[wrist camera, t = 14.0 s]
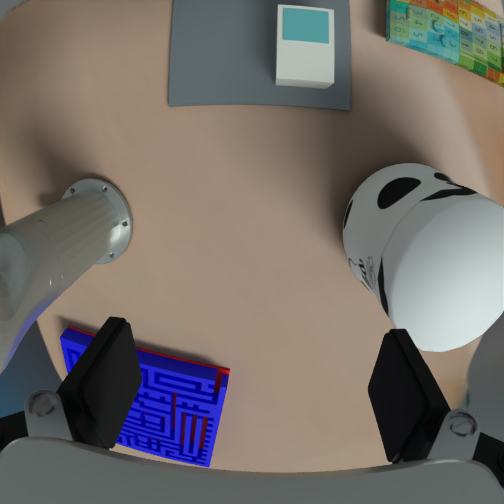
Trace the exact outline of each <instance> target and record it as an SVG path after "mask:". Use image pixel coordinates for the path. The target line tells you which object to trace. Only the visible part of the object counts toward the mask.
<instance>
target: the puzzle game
mask: <svg viewBox="0 0 504 504" xmlns="http://www.w3.org/2000/svg"><path fill="white" fill-rule="evenodd" d="M386 41H387V42H391V43H394V44H398V45H401V46H404V47H407V48H411V49H414V50H417V51H420V52H422V53H425V54H428V55H431V56H434V57H436V58H439V59H442V60H444V61H447V62H449V63H452V64H454V65H457V66H459V67H461V68H464V69H466V70H468V71H470V72H473V73H475V74H477V75H479V76H481V77H483V78H485V79H487V80H490V81H492V82H494V83H495V84H497V85H499V86H501V87H503V88H504V18H502V17H500V16H499V15H497V14H495V13H494V12H492V11H490V10H488V9H487V8H485V7H483V6H481V5H480V4H478V3H476V2H474V1H472V0H386Z"/></svg>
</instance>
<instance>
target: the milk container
mask: <svg viewBox="0 0 504 504" xmlns="http://www.w3.org/2000/svg"><path fill="white" fill-rule="evenodd" d="M343 244H344V250H345V254H346V257H347V260H348V263H349V265H350V267H351V269H352V271H353V273H354V274H355V276H356V277H357V279H358V280H359V281H360V282H361V284H362V285H363V286H364V287H365V288H366V289H368V290H369V291H370V292H371V293H373V294H374V295H376V297H377V299H378V301H379V303H380V305H381V306H382V308H383V310H384V311H385V313H386V314H387V315H388V317H389V319H390V320H391V322H392V323H393V325H394V327H395V328H396V329H406V330H407V332H408V333H409V335H410V337H411V338H412V340H413V342H414V344H415V345H416V347H418V348H419V349H421V350H425V351H437V352H444V351H447V350H451V349H455V348H458V347H462V346H464V345H466V344H467V343H469V342H470V341H472V340H474V339H475V338H477V337H479V336H480V335H482V334H483V333H484V332H485V331H486V330H487V329H488V328H489V327H490V326H491V325H492V324H493V323H494V322H495V321H496V320H497V319H498V317H500V315H501V313H502V312H503V310H504V208H503V207H502V206H501V205H500V204H498V203H497V202H495V201H493V200H492V199H490V198H488V197H485V196H483V195H481V194H479V193H477V192H476V191H474V190H472V189H470V188H467V187H464V186H461V185H458V184H456V183H455V182H454V181H453V180H452V179H451V178H449V177H448V176H447V175H446V174H444V173H442V172H441V171H439V170H437V169H435V168H433V167H430V166H427V165H422V164H416V163H403V164H396V165H392V166H388V167H385V168H383V169H381V170H379V171H377V172H375V173H374V174H372V175H371V176H370V177H368V178H367V179H366V180H365V181H364V182H363V183H362V184H361V185H360V186H359V187H358V189H357V190H356V191H355V193H354V195H353V196H352V198H351V200H350V202H349V204H348V207H347V209H346V212H345V216H344V222H343Z"/></svg>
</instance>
